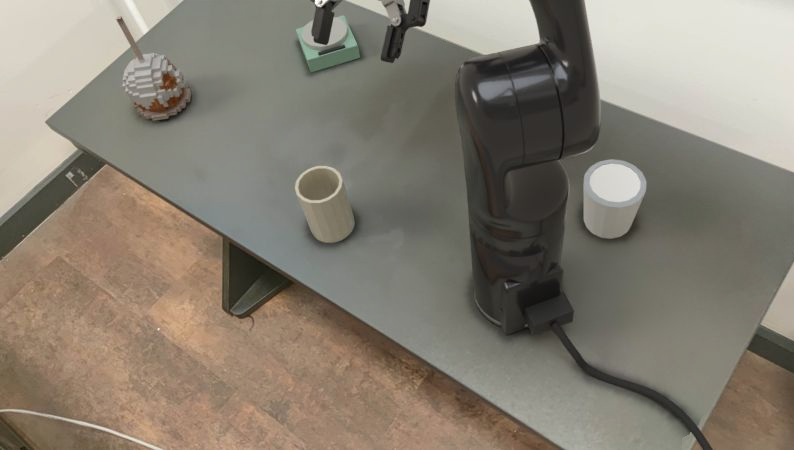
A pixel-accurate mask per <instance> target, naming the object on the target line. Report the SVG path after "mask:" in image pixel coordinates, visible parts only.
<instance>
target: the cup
mask: <svg viewBox="0 0 794 450" xmlns="http://www.w3.org/2000/svg"><path fill="white" fill-rule="evenodd" d="M294 190H295V194H296V197H297V199H298V201H299V202H298V203H299V204H300V206H301V209H302V212H303V214H304V218H305V219H306V222H307V224H308V227H309V230H310V232H311V234H312V235H313V237H314V238H315V240H318V241H319V242H322V243H325V244H334V243H339V242H341V241H343V240H345V239H346V238H348V237H349V236H350V234H352V232H353V230H354V228H355V223H356V222H355V217H354V212H353V210H352V206H351V203H350V200H349V197H348V193H347V190H346V187H345V183H344V179H343V177H342V174H341V173H340V171H338V170H337V169H336V168H334V167H331V166H328V165H316V166H313V167H309V168H308V169H307V170H305V171H303V172H302V173H301V174H300V175H299V176H298V177H297V179H296V181H295V184H294Z"/></svg>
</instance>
